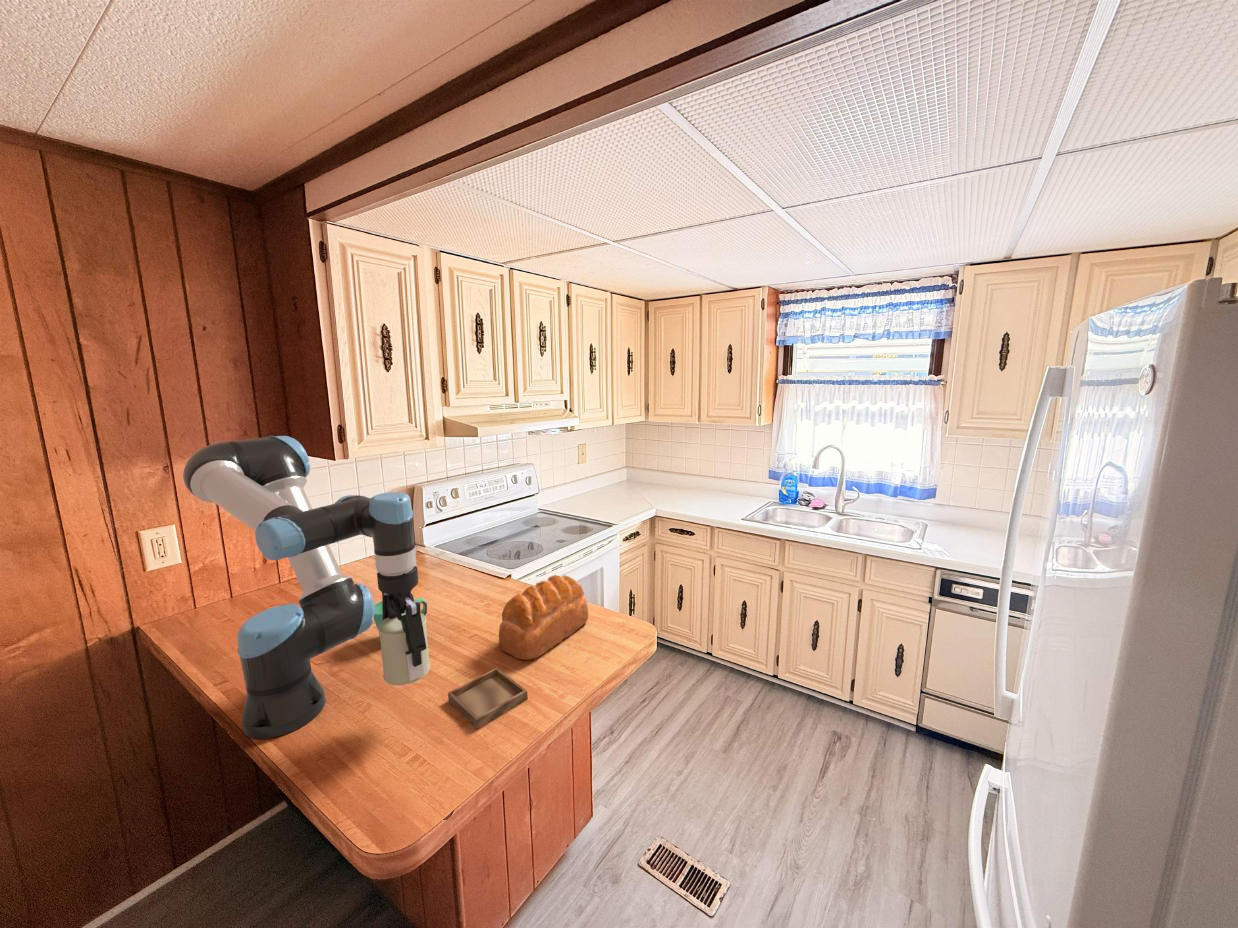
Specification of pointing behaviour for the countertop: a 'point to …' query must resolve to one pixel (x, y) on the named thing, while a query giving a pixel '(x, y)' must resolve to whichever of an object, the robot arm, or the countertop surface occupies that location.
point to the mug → (379, 613)
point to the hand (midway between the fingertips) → (406, 667)
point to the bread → (542, 617)
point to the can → (398, 651)
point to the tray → (487, 697)
